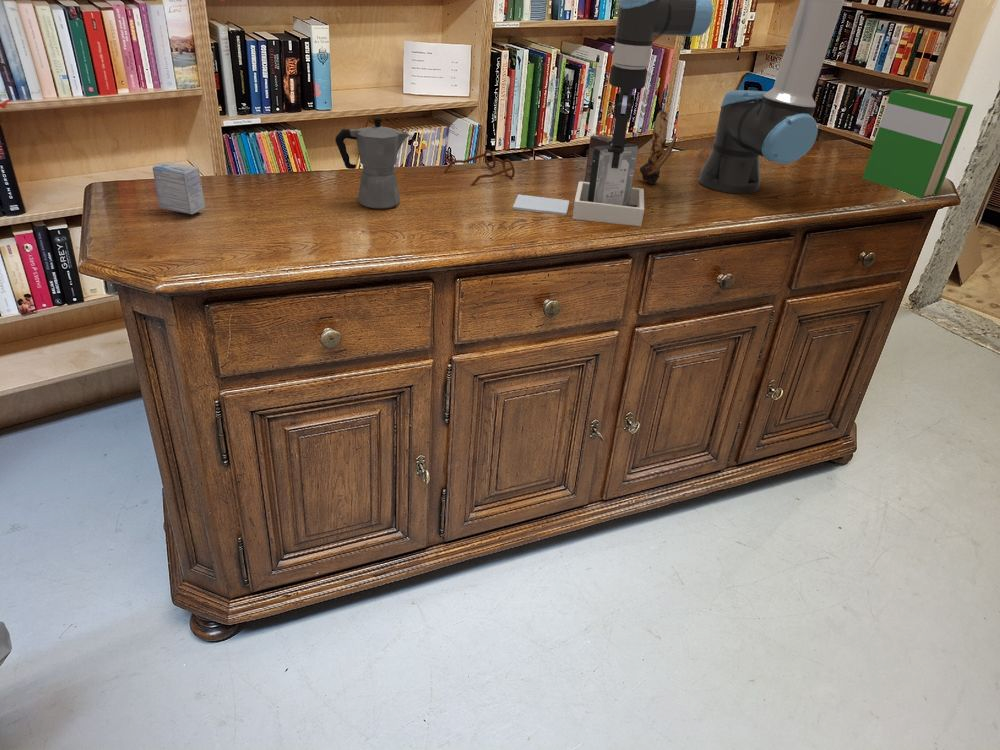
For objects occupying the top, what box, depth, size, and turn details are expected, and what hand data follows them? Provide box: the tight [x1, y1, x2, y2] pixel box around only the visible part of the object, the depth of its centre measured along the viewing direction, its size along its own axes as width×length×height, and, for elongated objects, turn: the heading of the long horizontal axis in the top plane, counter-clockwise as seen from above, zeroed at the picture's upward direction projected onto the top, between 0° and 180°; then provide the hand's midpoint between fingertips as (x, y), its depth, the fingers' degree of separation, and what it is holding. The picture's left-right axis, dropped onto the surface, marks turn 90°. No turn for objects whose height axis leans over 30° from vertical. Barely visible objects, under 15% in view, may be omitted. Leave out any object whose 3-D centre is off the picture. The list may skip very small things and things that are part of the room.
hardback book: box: [861, 89, 974, 200], centre depth 192 cm, size 18×7×24 cm, turn 30°
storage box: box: [572, 180, 645, 227], centre depth 167 cm, size 15×15×4 cm
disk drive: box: [586, 143, 639, 206], centre depth 164 cm, size 10×3×15 cm, turn 118°
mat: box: [512, 194, 570, 216], centre depth 168 cm, size 12×9×1 cm
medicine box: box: [152, 161, 206, 215], centre depth 149 cm, size 8×4×9 cm, turn 71°
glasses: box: [443, 149, 516, 187], centre depth 184 cm, size 13×13×5 cm
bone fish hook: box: [639, 110, 677, 185], centre depth 182 cm, size 9×5×18 cm, turn 14°
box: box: [583, 134, 613, 182], centre depth 180 cm, size 6×4×12 cm
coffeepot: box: [335, 116, 410, 209], centre depth 158 cm, size 15×9×18 cm, turn 107°
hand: (612, 177), depth 164 cm, fingers closed on disk drive, 5 cm apart
